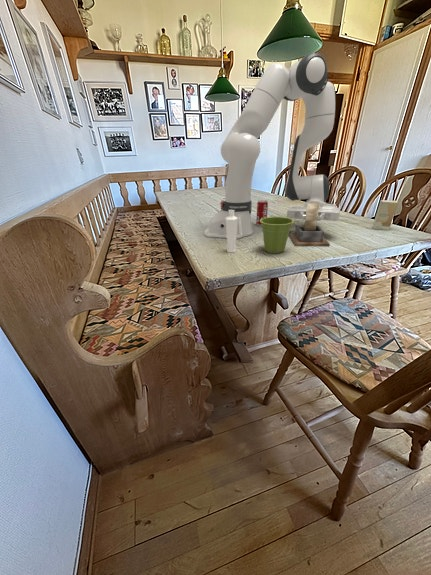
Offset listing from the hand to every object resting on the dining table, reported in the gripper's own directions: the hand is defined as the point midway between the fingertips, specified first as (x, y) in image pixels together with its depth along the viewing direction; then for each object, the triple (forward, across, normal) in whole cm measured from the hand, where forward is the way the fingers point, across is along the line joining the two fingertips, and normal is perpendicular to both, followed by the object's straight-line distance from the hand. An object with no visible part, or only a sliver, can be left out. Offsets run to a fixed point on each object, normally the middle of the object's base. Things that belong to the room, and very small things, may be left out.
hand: (311, 217), depth 96 cm
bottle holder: (-1, 0, +10) cm, 10 cm away
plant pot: (+14, -11, +10) cm, 20 cm away
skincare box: (-29, +30, +10) cm, 43 cm away
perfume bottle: (+20, -26, +10) cm, 34 cm away
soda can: (-21, -24, +10) cm, 33 cm away
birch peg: (-1, 0, +7) cm, 7 cm away
